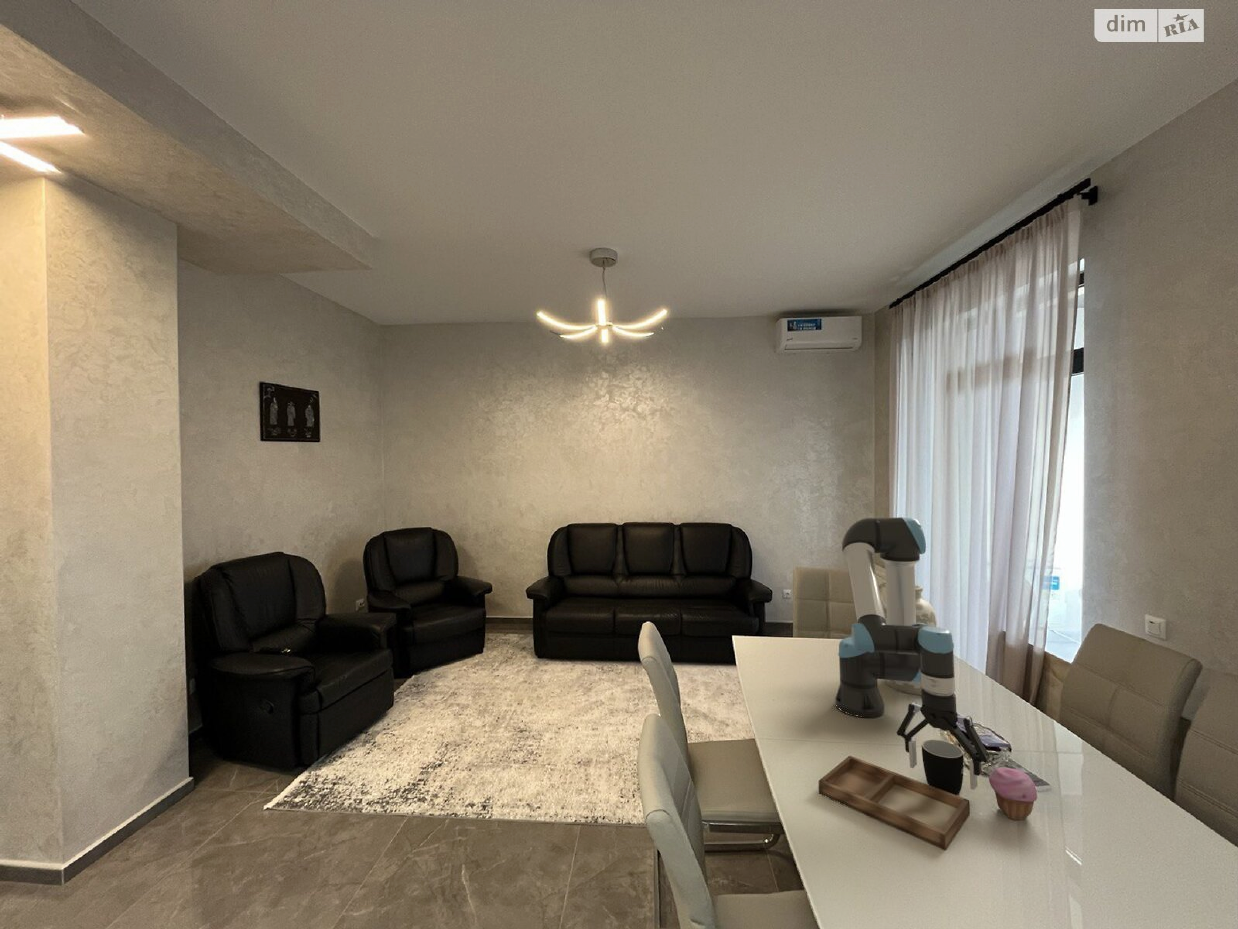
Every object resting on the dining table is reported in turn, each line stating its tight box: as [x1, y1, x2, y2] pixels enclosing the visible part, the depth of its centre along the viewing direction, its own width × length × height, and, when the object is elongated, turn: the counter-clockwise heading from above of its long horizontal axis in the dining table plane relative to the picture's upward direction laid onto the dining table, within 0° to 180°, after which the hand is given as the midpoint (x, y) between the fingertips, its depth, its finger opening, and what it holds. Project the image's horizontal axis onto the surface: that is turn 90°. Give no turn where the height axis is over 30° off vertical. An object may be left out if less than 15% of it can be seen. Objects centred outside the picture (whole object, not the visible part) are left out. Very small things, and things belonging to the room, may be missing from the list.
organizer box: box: [818, 755, 971, 851], centre depth 127 cm, size 28×17×3 cm, turn 42°
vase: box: [878, 581, 938, 696], centre depth 197 cm, size 20×19×38 cm
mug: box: [921, 739, 965, 796], centre depth 133 cm, size 12×9×10 cm
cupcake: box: [988, 766, 1038, 821], centre depth 121 cm, size 9×9×10 cm
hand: (942, 776), depth 133 cm, fingers open, 13 cm apart
